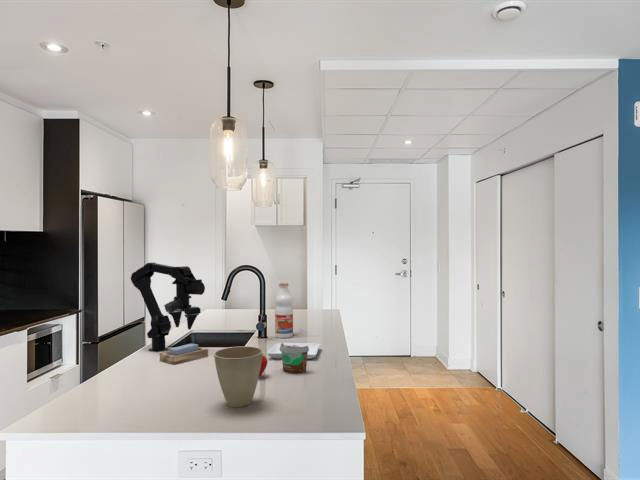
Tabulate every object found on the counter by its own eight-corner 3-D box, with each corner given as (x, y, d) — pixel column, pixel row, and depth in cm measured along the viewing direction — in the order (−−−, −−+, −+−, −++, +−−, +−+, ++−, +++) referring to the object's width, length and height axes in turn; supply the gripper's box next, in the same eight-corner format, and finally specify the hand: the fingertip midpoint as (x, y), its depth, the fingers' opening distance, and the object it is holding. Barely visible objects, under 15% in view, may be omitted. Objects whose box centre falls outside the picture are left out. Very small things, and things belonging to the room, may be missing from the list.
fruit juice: (288, 334, 247) (288, 282, 247) (296, 337, 239) (295, 283, 239) (272, 336, 243) (271, 283, 243) (279, 339, 234) (278, 284, 235)
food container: (273, 372, 176) (273, 345, 176) (282, 368, 181) (281, 342, 181) (301, 376, 170) (301, 349, 170) (309, 371, 175) (309, 345, 175)
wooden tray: (159, 361, 194) (159, 353, 194) (193, 353, 208) (193, 346, 208) (174, 364, 188) (174, 357, 188) (208, 356, 201) (207, 349, 201)
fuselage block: (191, 352, 204) (191, 343, 204) (198, 353, 202) (198, 344, 202) (169, 358, 194) (169, 348, 194) (176, 359, 191) (176, 350, 191)
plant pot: (211, 398, 146) (210, 348, 146) (257, 392, 152) (256, 344, 152) (218, 415, 132) (217, 360, 132) (268, 408, 138) (267, 354, 138)
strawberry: (269, 374, 173) (269, 347, 173) (264, 380, 165) (264, 352, 165) (254, 373, 173) (254, 347, 173) (248, 379, 166) (248, 352, 166)
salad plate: (321, 349, 212) (321, 342, 212) (316, 362, 191) (316, 353, 191) (276, 349, 214) (276, 342, 214) (266, 361, 193) (266, 353, 193)
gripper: (155, 294, 209) (155, 328, 209) (179, 297, 197) (180, 333, 197) (176, 292, 217) (177, 325, 217) (201, 294, 206) (201, 329, 206)
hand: (183, 328), depth 209 cm, fingers open, 9 cm apart
